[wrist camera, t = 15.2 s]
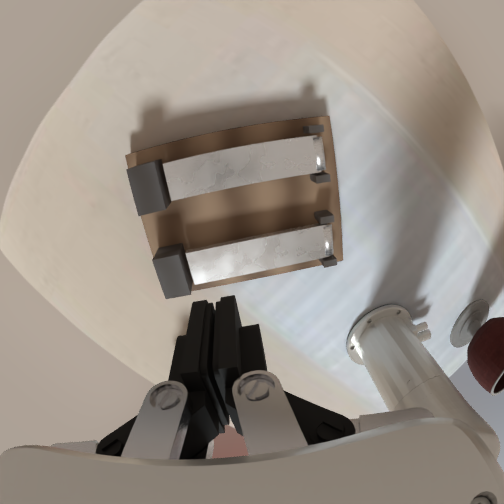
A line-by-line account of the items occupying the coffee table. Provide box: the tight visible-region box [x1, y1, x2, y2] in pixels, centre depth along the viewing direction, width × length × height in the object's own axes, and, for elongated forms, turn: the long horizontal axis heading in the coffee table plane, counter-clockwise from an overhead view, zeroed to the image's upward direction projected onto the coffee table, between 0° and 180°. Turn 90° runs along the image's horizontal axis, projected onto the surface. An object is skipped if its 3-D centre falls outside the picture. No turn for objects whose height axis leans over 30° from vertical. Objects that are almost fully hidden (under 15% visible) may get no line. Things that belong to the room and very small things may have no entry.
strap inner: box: [185, 223, 334, 285], centre depth 33 cm, size 17×4×1 cm, turn 100°
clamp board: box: [125, 116, 343, 299], centre depth 32 cm, size 23×18×6 cm
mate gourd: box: [450, 300, 504, 396], centre depth 39 cm, size 16×14×20 cm
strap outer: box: [163, 135, 326, 201], centre depth 29 cm, size 17×4×1 cm, turn 100°
